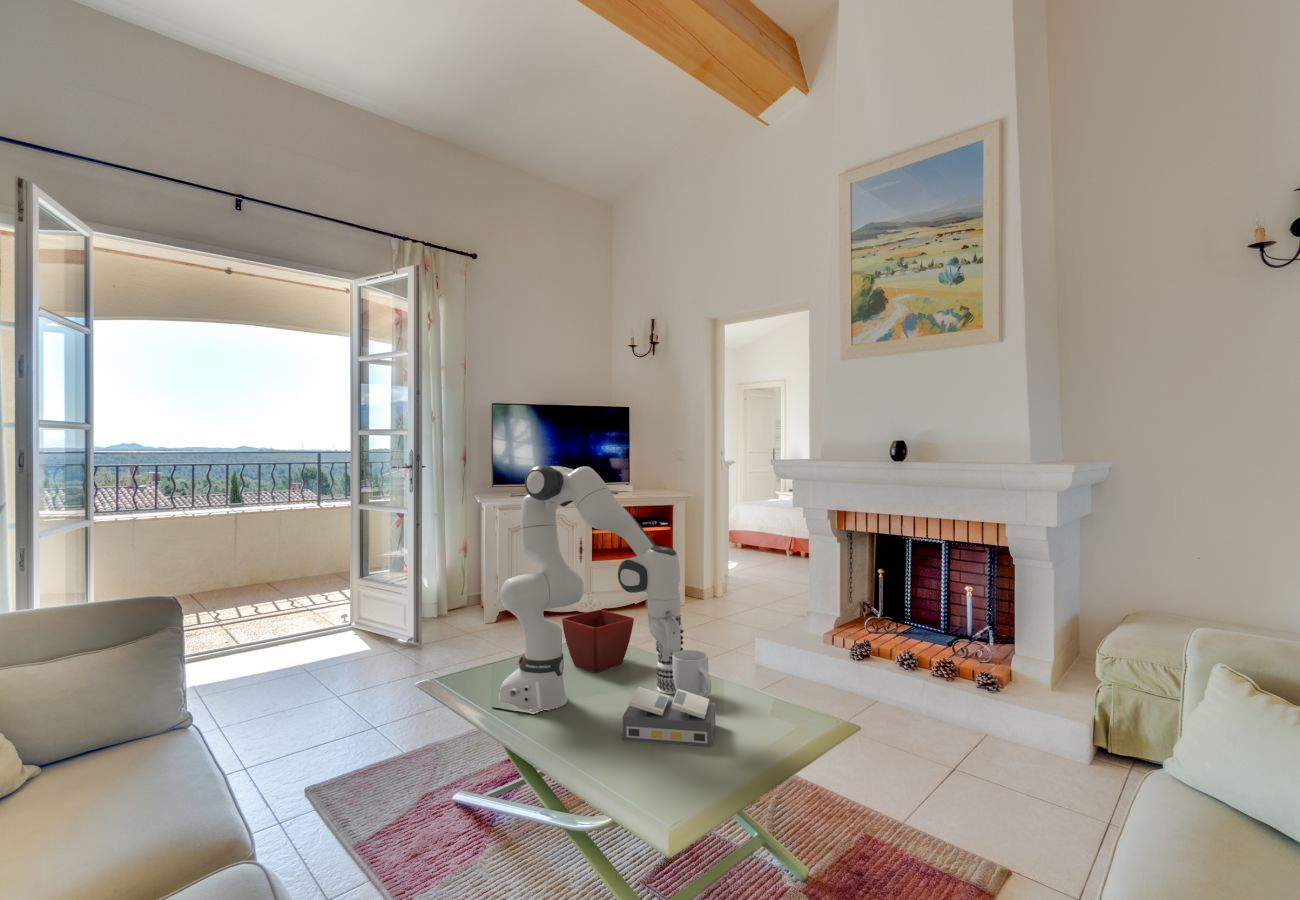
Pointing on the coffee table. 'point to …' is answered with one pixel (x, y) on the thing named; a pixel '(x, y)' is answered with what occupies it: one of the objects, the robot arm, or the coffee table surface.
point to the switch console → (669, 726)
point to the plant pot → (597, 639)
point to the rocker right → (690, 703)
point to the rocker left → (649, 701)
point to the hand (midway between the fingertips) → (664, 659)
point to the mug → (691, 672)
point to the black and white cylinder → (667, 669)
